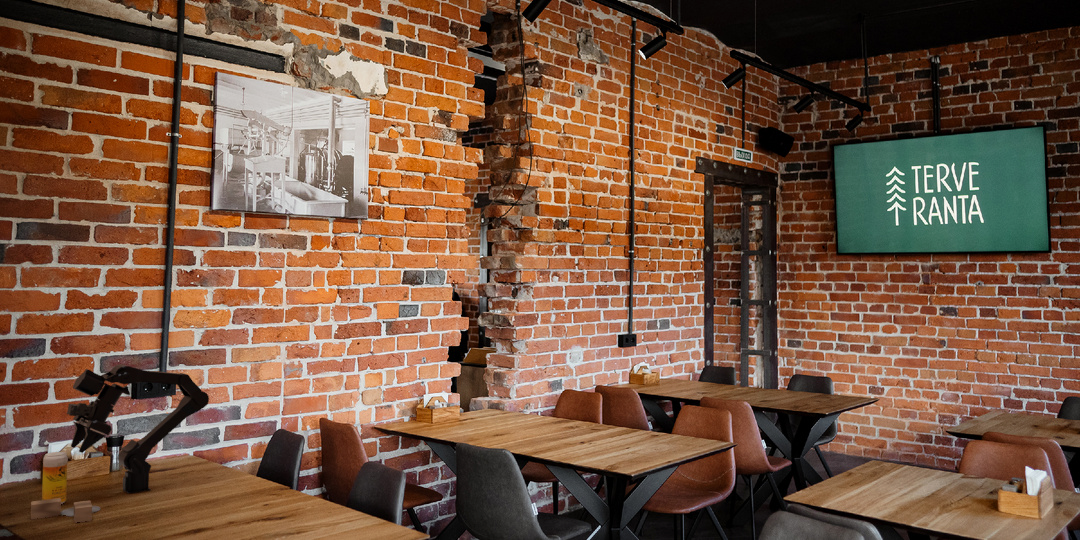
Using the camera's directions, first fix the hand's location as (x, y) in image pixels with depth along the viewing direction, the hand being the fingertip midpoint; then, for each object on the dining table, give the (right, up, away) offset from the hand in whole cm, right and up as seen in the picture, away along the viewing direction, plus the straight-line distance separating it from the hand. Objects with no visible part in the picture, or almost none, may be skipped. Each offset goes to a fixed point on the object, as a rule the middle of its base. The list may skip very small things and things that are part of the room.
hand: (76, 449), depth 232 cm
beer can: (-4, -15, -4) cm, 17 cm away
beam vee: (+7, -15, -13) cm, 21 cm away
